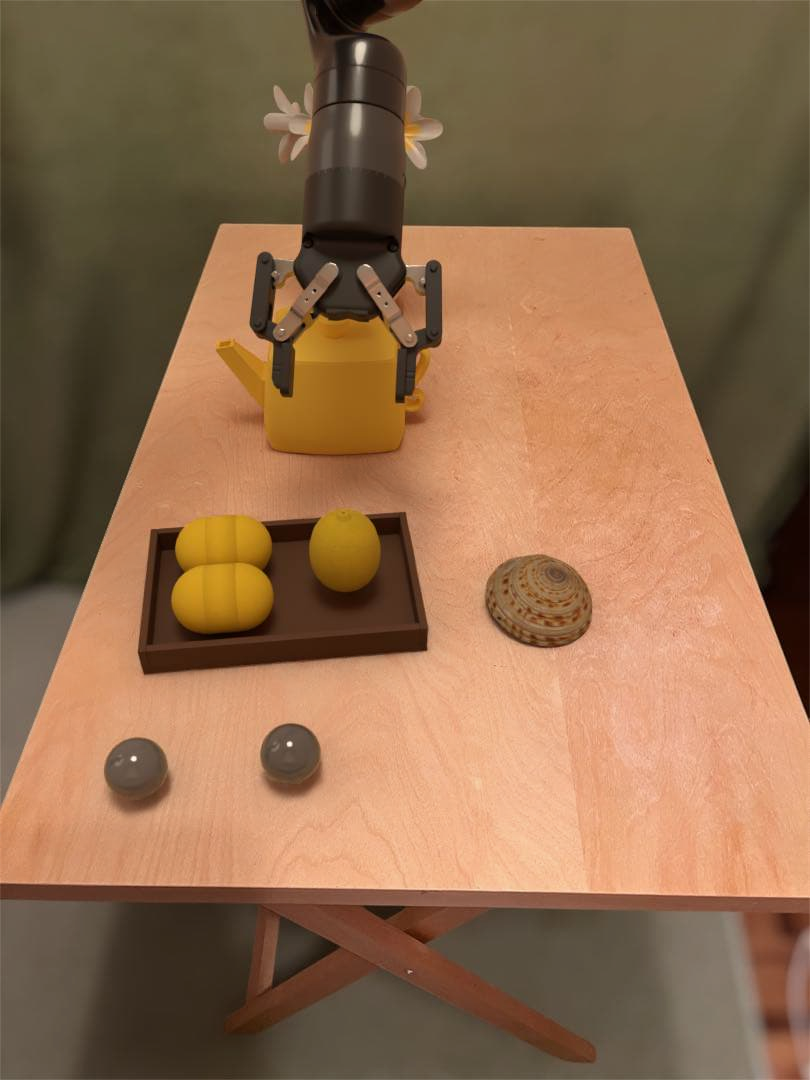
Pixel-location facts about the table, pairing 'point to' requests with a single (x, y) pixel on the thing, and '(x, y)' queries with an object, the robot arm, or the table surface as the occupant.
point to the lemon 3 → (344, 550)
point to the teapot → (331, 388)
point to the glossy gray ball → (135, 768)
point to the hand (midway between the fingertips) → (343, 398)
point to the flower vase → (301, 123)
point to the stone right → (290, 753)
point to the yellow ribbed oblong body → (222, 598)
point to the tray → (291, 606)
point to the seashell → (539, 600)
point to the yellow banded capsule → (223, 542)
